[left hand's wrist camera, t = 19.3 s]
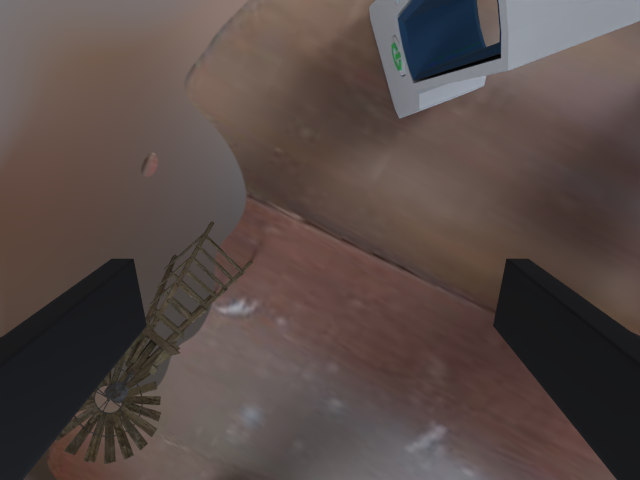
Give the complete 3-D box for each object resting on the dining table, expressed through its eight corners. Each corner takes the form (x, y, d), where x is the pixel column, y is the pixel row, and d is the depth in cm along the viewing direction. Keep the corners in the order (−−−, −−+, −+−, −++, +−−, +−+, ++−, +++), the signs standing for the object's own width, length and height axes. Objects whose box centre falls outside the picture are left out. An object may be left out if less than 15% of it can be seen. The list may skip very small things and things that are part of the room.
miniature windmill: (169, 254, 51) (-20, 435, 22) (210, 217, 49) (60, 365, 21) (215, 297, 53) (97, 509, 25) (256, 263, 51) (178, 452, 23)
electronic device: (365, 10, 40) (470, -221, 12) (429, -16, 39) (705, -335, 11) (395, 119, 44) (527, 135, 16) (454, 97, 43) (702, 72, 15)
